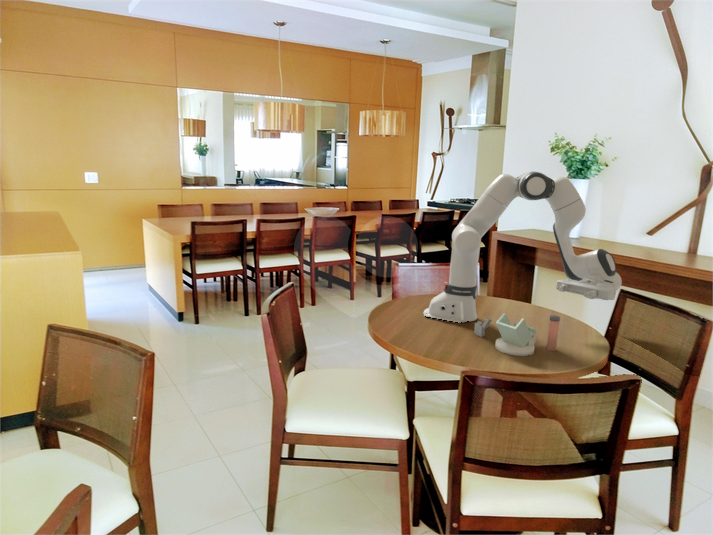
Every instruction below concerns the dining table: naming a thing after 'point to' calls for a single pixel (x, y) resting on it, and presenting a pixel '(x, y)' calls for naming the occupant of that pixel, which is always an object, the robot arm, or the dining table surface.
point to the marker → (553, 333)
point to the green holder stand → (515, 337)
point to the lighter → (481, 327)
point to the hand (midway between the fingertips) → (573, 291)
